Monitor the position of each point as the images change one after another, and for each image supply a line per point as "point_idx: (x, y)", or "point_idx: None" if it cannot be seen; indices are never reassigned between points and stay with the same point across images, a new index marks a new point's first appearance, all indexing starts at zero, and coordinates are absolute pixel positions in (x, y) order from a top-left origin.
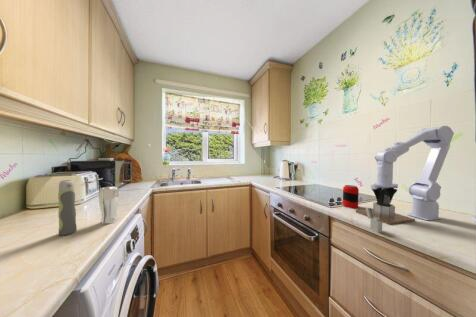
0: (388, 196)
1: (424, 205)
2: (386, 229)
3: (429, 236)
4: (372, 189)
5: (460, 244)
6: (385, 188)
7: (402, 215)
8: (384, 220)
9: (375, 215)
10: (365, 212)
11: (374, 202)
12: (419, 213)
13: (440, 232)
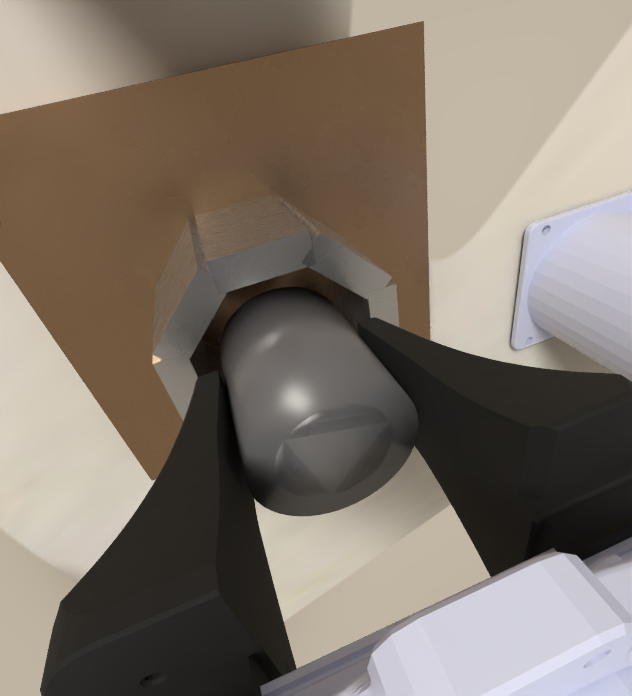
0: (371, 478)
1: (629, 379)
2: (71, 544)
3: (271, 550)
4: (59, 635)
5: (325, 575)
6: (536, 488)
7: (424, 305)
8: (143, 452)
9: (137, 342)
10: (59, 242)
11: (218, 268)
12: (551, 319)
13: (379, 492)
